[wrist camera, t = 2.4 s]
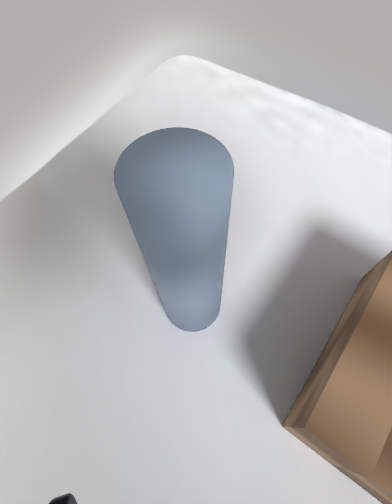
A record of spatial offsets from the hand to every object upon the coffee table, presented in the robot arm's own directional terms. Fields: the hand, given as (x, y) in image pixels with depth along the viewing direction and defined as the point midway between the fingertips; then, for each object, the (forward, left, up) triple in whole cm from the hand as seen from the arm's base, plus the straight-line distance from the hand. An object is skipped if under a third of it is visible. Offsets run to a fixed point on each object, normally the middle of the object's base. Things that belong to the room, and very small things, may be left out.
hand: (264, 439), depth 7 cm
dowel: (+5, +7, -13) cm, 16 cm away
